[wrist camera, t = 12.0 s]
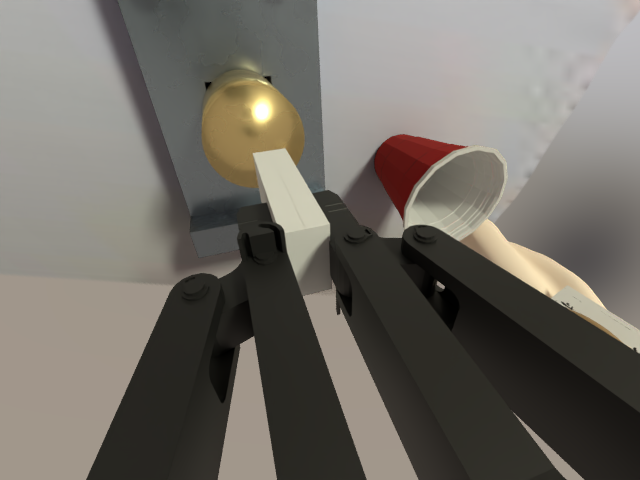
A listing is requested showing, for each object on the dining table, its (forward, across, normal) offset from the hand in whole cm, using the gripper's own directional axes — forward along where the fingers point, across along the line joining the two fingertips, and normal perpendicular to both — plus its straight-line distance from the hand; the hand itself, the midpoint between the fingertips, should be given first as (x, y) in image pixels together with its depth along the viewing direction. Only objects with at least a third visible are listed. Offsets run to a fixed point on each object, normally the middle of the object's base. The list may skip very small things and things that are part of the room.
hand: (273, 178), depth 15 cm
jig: (+19, 0, -1) cm, 19 cm away
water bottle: (+18, +27, -21) cm, 39 cm away
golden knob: (+18, 0, -1) cm, 18 cm away
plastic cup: (+19, +17, -9) cm, 27 cm away
